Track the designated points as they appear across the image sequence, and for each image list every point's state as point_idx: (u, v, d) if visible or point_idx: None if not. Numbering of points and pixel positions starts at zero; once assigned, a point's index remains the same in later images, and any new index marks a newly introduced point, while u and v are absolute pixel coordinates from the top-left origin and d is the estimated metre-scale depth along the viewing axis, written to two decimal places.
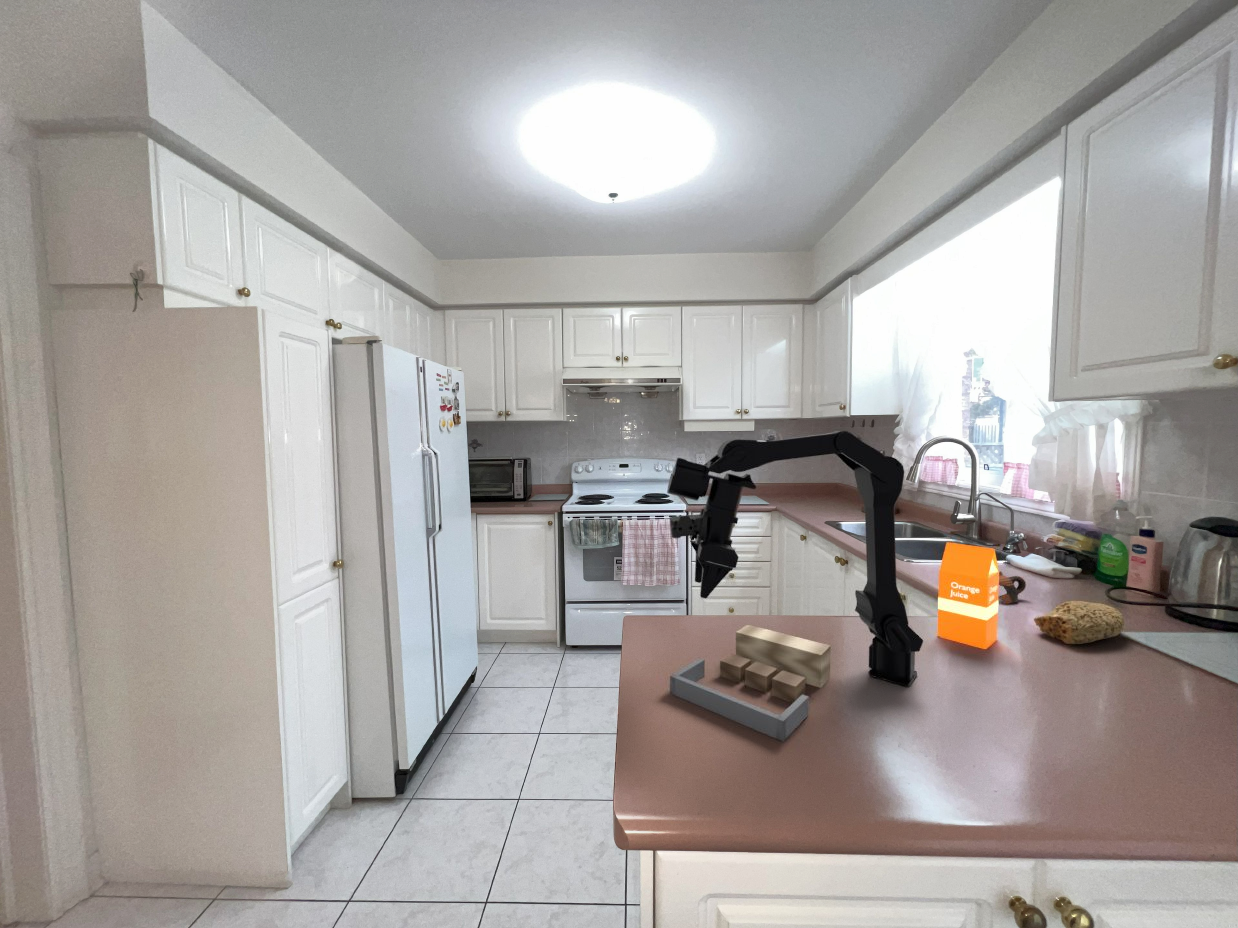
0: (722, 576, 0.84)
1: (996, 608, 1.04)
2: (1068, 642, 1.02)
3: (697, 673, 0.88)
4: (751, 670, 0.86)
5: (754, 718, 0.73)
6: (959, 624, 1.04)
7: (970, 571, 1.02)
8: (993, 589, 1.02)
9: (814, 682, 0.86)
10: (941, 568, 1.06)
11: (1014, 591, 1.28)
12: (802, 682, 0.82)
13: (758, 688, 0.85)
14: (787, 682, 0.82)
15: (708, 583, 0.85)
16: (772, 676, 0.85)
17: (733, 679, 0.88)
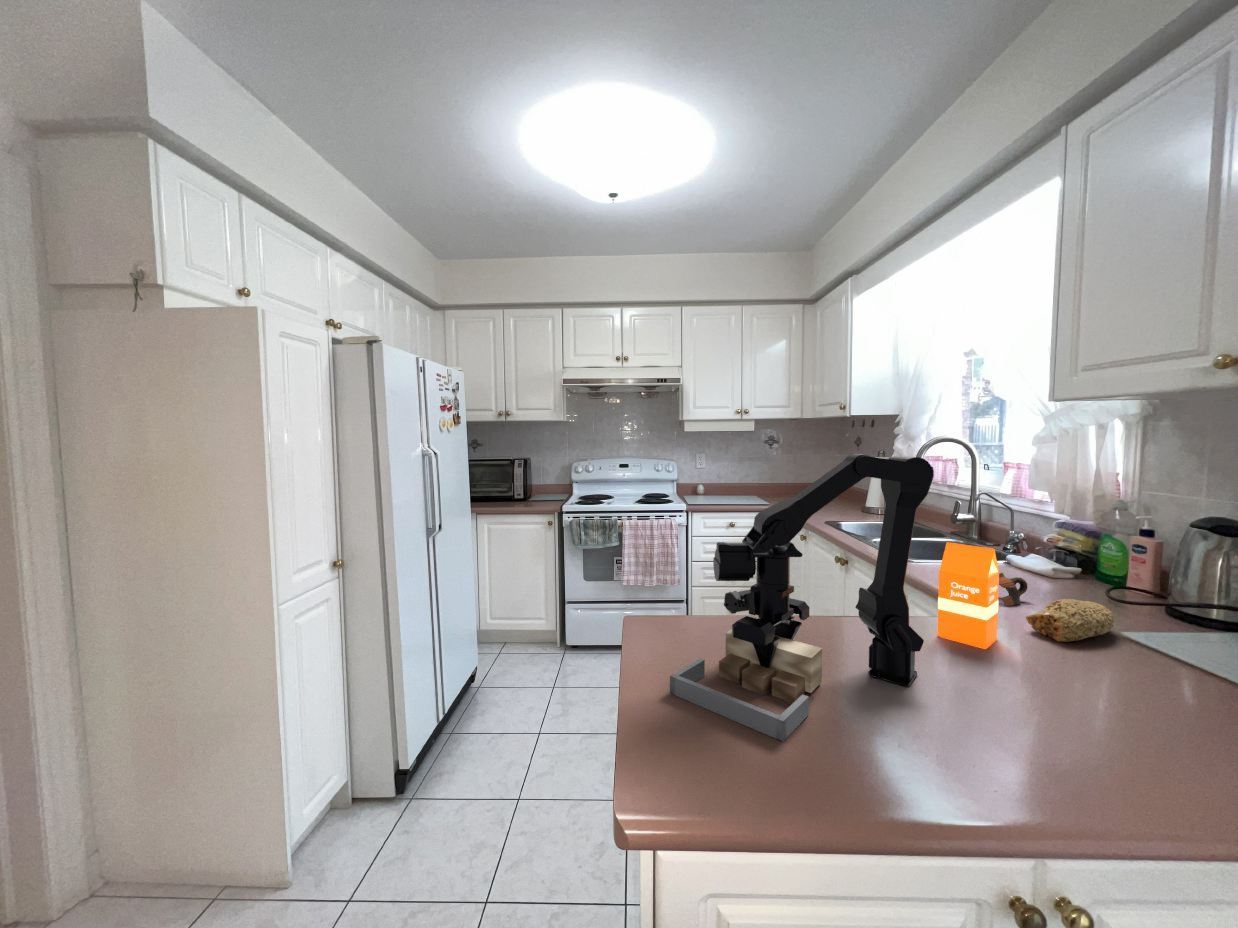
0: (771, 650, 0.85)
1: (996, 608, 1.04)
2: (1059, 640, 1.03)
3: (697, 673, 0.88)
4: (748, 672, 0.85)
5: (754, 718, 0.73)
6: (959, 624, 1.04)
7: (970, 571, 1.02)
8: (993, 589, 1.02)
9: None
10: (941, 568, 1.06)
11: (1016, 593, 1.27)
12: (802, 682, 0.82)
13: (755, 690, 0.84)
14: (786, 682, 0.82)
15: (762, 656, 0.87)
16: (769, 678, 0.85)
17: (732, 679, 0.88)
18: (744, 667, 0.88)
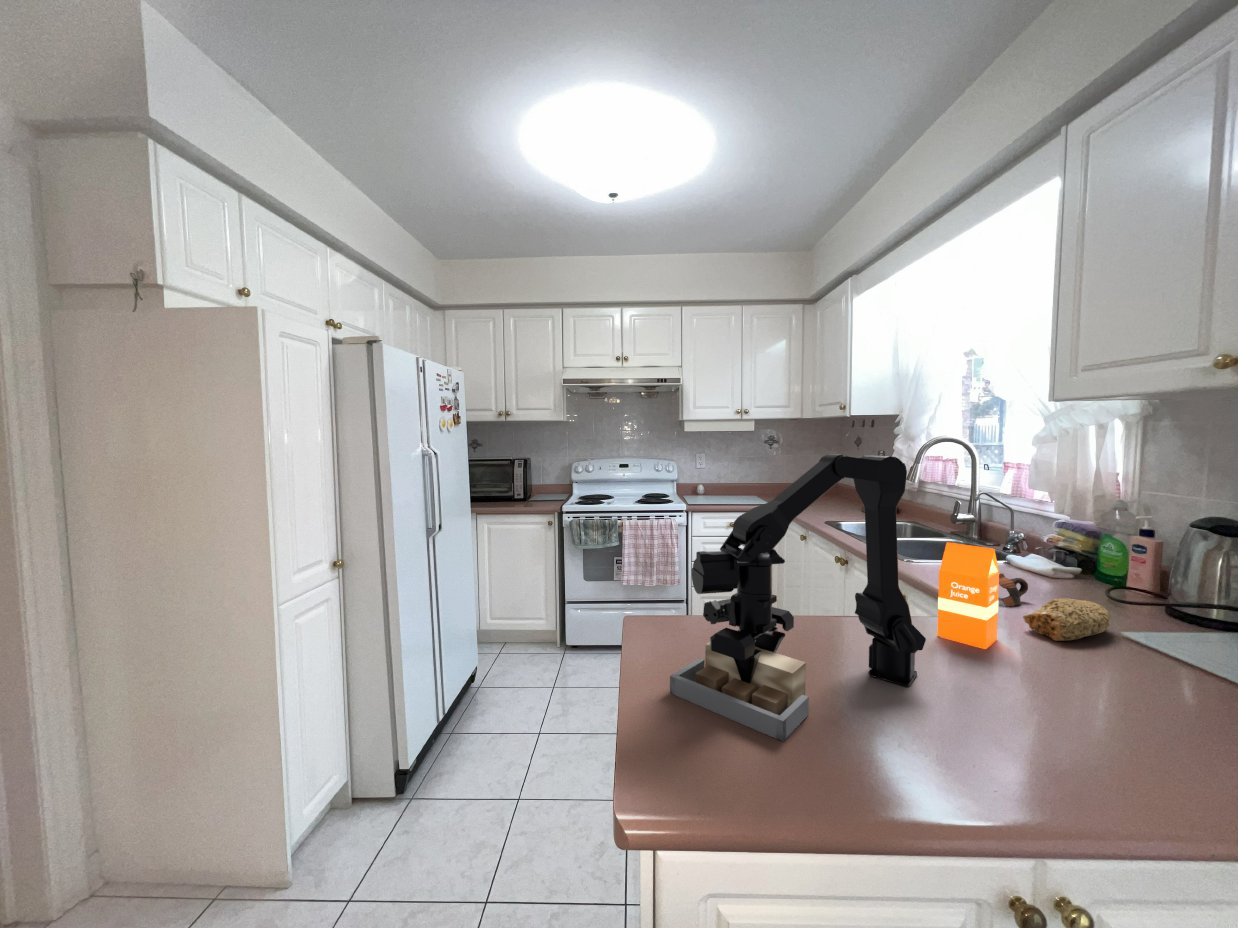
0: (751, 663, 0.80)
1: (996, 608, 1.04)
2: (1057, 639, 1.03)
3: None
4: (728, 688, 0.80)
5: (754, 718, 0.73)
6: (959, 624, 1.04)
7: (970, 571, 1.02)
8: (993, 589, 1.02)
9: None
10: (941, 568, 1.06)
11: (1017, 593, 1.26)
12: (784, 698, 0.77)
13: None
14: (767, 698, 0.76)
15: (743, 670, 0.82)
16: (750, 695, 0.80)
17: None
18: (722, 680, 0.84)
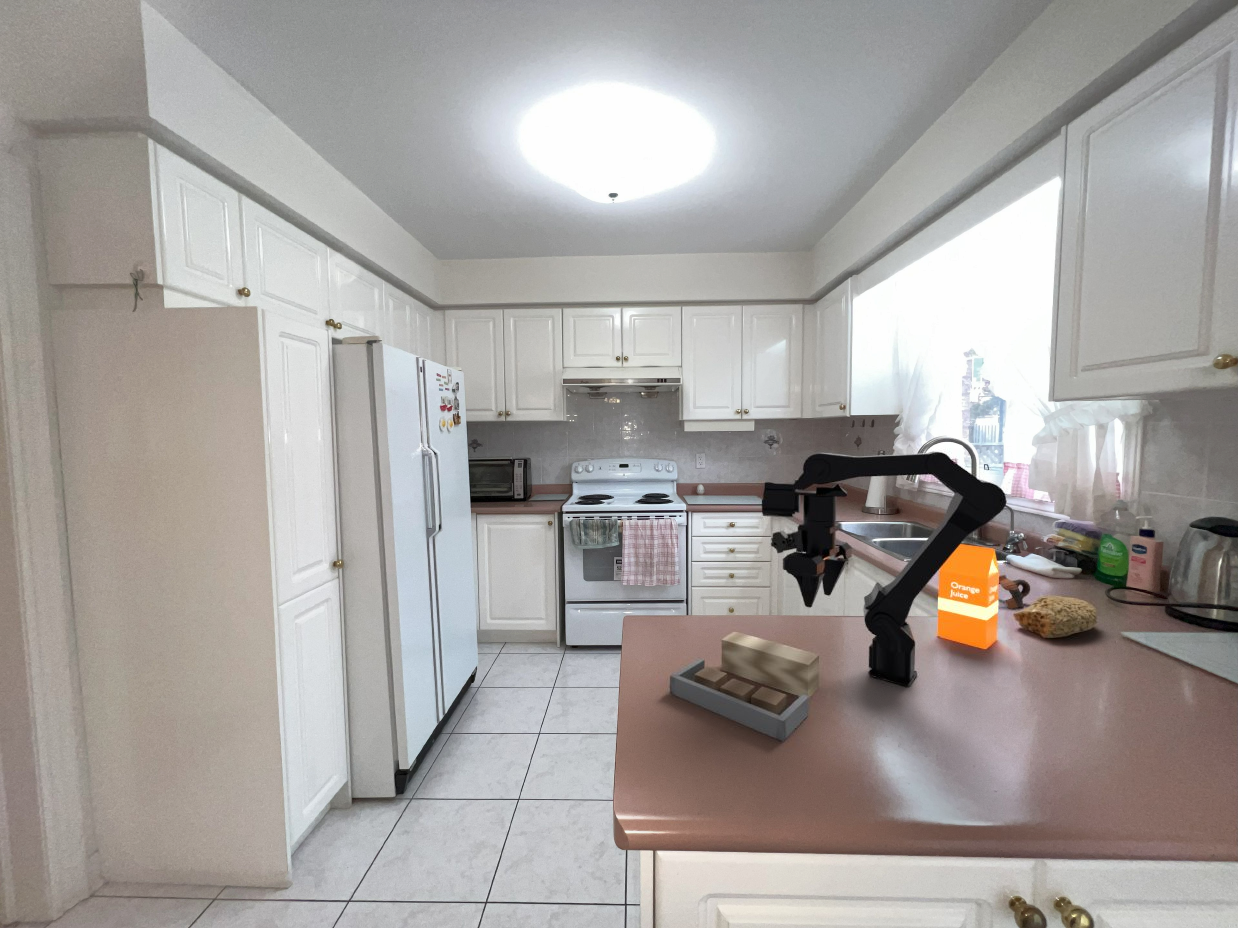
0: (815, 585, 0.88)
1: (996, 608, 1.04)
2: (1046, 636, 1.05)
3: None
4: (727, 688, 0.80)
5: (754, 718, 0.73)
6: (959, 624, 1.04)
7: (970, 571, 1.02)
8: (993, 589, 1.02)
9: (801, 693, 0.83)
10: (941, 568, 1.06)
11: (1019, 595, 1.25)
12: (783, 700, 0.77)
13: None
14: (766, 700, 0.76)
15: (806, 592, 0.90)
16: (749, 695, 0.79)
17: None
18: (720, 681, 0.84)
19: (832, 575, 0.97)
